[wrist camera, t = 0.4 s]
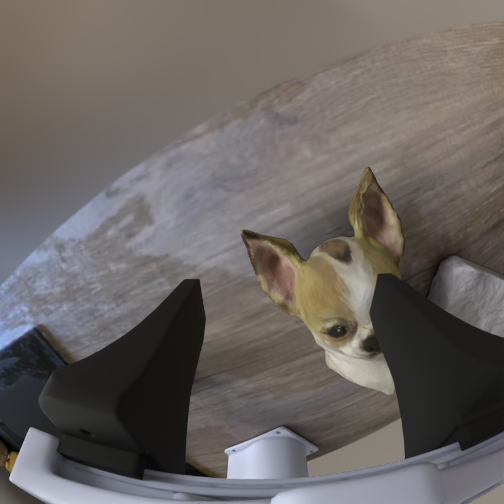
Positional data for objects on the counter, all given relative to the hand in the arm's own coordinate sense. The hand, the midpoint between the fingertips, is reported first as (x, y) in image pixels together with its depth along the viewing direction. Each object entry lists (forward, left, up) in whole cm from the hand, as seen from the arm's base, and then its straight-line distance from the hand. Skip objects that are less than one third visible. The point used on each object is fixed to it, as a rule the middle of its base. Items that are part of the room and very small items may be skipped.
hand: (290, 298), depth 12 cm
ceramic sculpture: (+1, -6, -11) cm, 13 cm away
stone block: (+9, -18, -11) cm, 23 cm away
